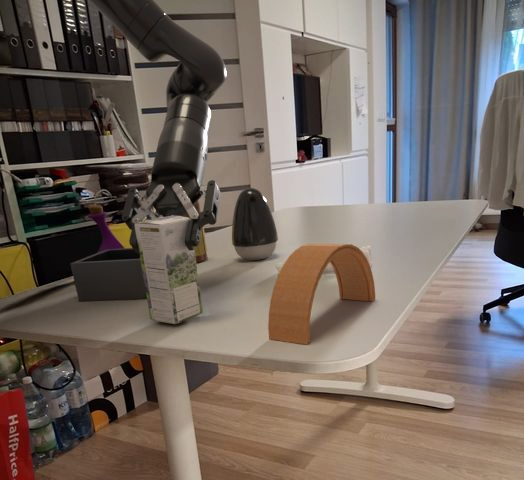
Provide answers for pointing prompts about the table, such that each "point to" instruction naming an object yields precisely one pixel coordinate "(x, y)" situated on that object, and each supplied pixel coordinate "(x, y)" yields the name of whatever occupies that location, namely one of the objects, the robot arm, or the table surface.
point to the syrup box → (168, 269)
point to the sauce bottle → (201, 248)
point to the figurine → (365, 250)
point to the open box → (109, 276)
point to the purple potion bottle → (103, 226)
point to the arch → (315, 286)
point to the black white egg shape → (253, 226)
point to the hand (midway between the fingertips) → (162, 248)
